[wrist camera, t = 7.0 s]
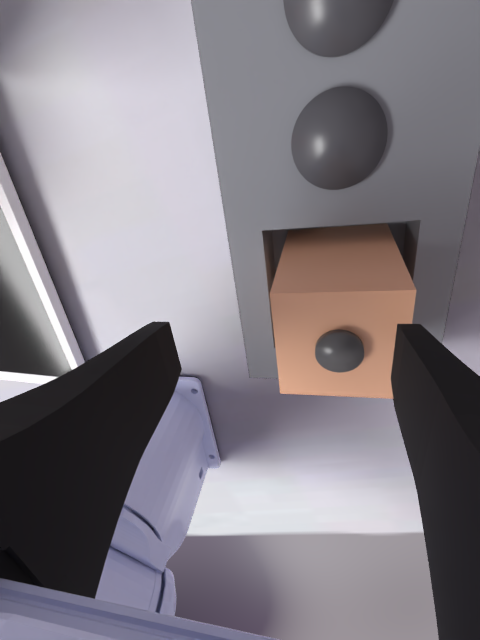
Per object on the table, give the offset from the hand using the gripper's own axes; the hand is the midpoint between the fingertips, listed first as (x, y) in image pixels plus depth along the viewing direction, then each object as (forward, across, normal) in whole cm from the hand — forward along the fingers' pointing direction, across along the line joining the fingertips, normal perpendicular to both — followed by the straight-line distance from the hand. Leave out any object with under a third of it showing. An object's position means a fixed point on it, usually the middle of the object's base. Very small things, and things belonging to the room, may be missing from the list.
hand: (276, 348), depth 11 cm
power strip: (+8, -2, -3) cm, 9 cm away
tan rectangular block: (+8, -2, +1) cm, 8 cm away
